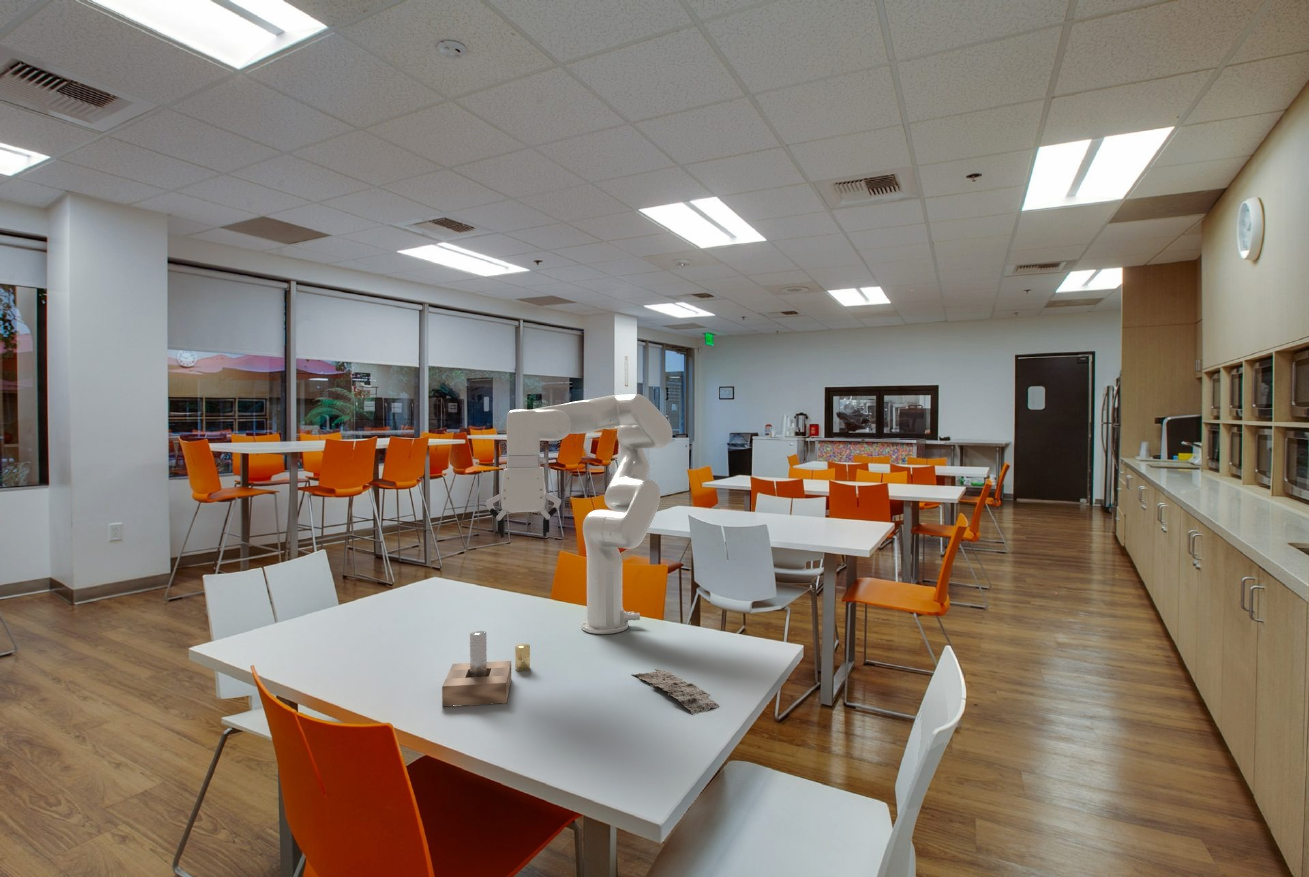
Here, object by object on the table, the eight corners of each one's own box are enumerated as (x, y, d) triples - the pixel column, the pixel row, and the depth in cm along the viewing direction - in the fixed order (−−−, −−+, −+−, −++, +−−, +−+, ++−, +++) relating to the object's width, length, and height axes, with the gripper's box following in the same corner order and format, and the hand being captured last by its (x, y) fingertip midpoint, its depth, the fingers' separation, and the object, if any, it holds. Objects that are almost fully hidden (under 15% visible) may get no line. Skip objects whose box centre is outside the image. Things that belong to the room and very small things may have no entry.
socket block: (511, 679, 136) (511, 660, 136) (506, 703, 124) (506, 682, 124) (452, 682, 134) (452, 663, 134) (442, 707, 123) (442, 686, 123)
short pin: (530, 665, 144) (530, 643, 144) (529, 670, 141) (529, 648, 141) (515, 666, 144) (515, 644, 144) (514, 671, 141) (514, 648, 141)
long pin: (487, 688, 131) (487, 630, 131) (485, 695, 128) (485, 635, 128) (471, 689, 131) (471, 631, 131) (469, 696, 128) (468, 636, 127)
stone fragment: (695, 722, 118) (732, 706, 125) (695, 707, 118) (732, 691, 125) (612, 680, 137) (648, 668, 144) (612, 667, 137) (648, 655, 144)
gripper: (561, 461, 154) (561, 532, 154) (487, 462, 151) (487, 534, 151) (561, 463, 146) (561, 538, 146) (483, 464, 144) (483, 540, 144)
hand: (523, 536), depth 149 cm, fingers open, 9 cm apart
